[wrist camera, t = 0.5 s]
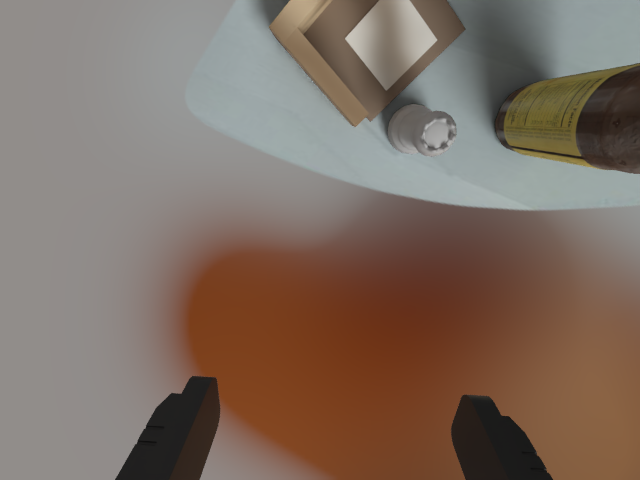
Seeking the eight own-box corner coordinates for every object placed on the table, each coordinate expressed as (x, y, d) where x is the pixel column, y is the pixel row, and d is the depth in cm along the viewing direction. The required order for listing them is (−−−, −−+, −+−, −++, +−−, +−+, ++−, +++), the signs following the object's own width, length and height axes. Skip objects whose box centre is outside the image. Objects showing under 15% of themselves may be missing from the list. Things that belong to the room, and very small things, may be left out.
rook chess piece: (398, 96, 28) (425, 91, 21) (441, 113, 29) (482, 114, 21) (379, 144, 30) (397, 154, 23) (420, 159, 30) (451, 175, 23)
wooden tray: (383, -91, 23) (394, -129, 20) (463, 30, 26) (486, 17, 23) (276, 38, 27) (268, 26, 23) (358, 133, 30) (363, 136, 26)
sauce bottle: (572, 117, 29) (1008, 128, 10) (514, 165, 31) (800, 247, 12) (536, 63, 27) (980, -36, 9) (476, 118, 29) (742, 130, 11)
